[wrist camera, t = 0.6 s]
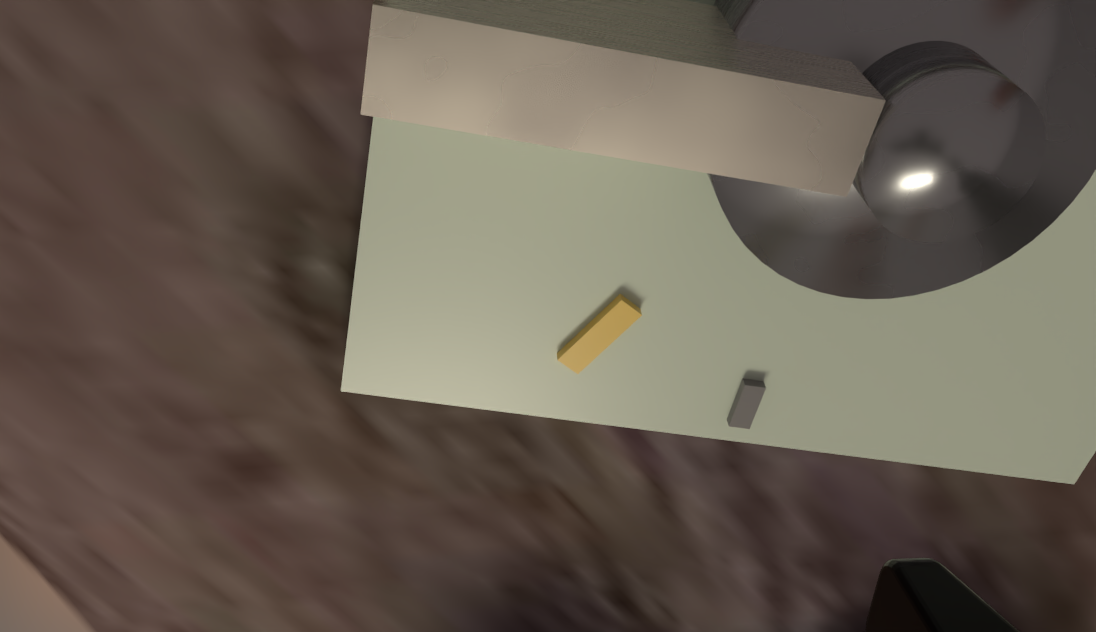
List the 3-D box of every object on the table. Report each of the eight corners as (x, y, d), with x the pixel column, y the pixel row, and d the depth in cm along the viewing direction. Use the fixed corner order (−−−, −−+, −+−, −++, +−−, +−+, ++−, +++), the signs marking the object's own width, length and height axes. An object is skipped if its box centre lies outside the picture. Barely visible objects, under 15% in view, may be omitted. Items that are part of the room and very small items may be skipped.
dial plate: (1578, -379, 16) (1657, -382, 15) (1054, 457, 26) (1080, 492, 25) (474, -712, 13) (473, -743, 12) (345, 364, 23) (339, 399, 22)
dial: (1144, -78, 17) (1289, -19, 14) (970, 269, 21) (1054, 376, 18) (414, -243, 15) (396, -217, 12) (366, 172, 19) (342, 272, 16)
